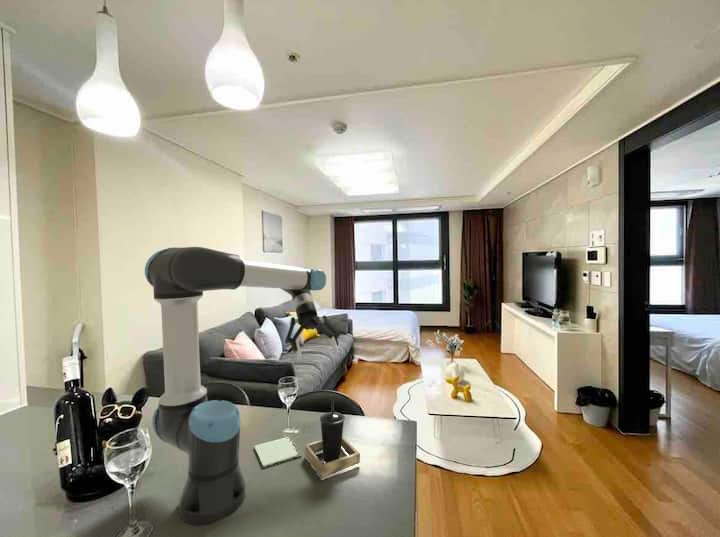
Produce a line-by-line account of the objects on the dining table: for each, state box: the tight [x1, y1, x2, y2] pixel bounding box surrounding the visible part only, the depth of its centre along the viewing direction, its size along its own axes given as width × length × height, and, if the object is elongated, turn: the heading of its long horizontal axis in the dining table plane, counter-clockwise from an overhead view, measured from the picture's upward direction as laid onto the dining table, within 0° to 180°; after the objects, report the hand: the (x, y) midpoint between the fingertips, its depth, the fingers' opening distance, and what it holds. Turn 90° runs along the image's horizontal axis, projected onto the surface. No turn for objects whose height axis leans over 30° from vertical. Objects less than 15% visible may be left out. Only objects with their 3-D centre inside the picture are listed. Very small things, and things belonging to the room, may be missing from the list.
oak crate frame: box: [304, 435, 361, 479], centre depth 94 cm, size 13×13×4 cm
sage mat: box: [253, 436, 298, 466], centre depth 99 cm, size 12×12×1 cm
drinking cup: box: [319, 396, 346, 463], centre depth 95 cm, size 8×8×20 cm
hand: (319, 356), depth 105 cm, fingers open, 13 cm apart
